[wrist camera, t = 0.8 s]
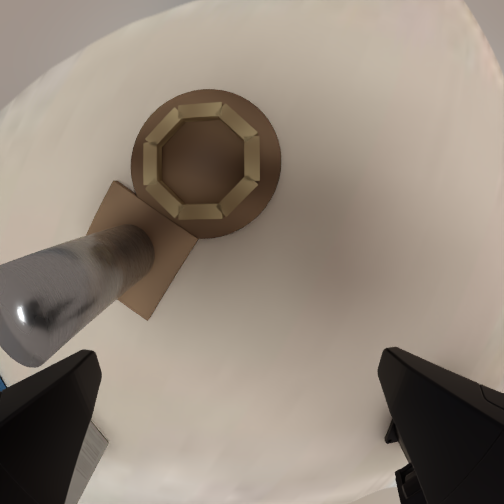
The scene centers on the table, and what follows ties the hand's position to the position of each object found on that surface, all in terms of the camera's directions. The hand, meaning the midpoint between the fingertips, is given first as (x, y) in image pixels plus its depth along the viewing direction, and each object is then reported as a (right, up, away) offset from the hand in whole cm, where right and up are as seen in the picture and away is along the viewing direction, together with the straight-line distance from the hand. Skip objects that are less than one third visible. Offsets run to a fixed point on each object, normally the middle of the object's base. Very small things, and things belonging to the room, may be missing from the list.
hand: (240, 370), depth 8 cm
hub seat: (-3, +10, +12) cm, 16 cm away
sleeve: (-9, +3, +13) cm, 16 cm away
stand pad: (-9, +3, +14) cm, 17 cm away
